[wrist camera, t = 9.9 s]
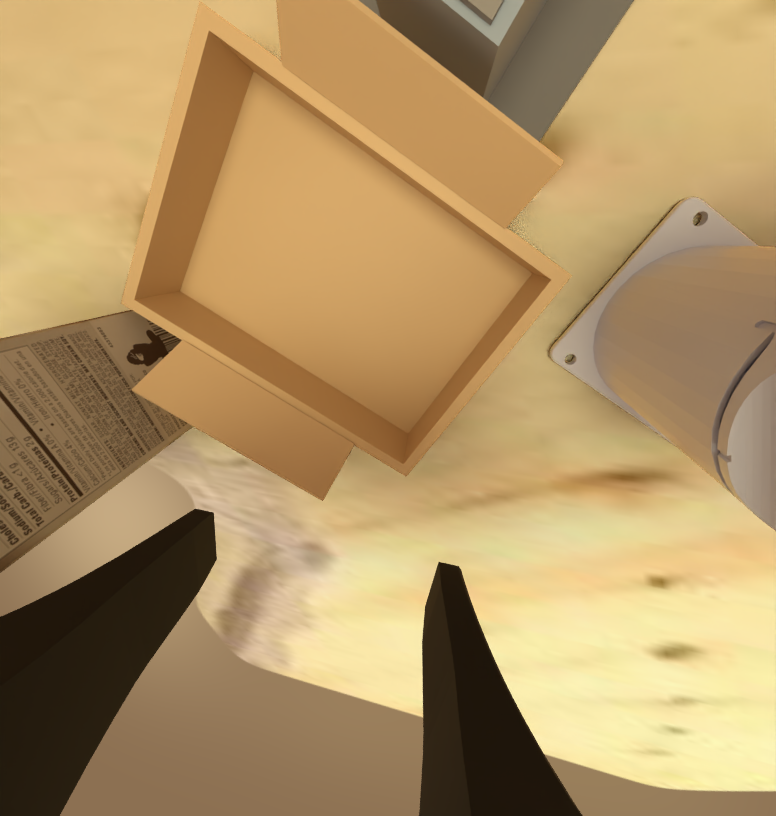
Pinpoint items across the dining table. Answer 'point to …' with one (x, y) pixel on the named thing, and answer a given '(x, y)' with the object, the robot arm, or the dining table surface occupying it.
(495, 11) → the block
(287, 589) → the dining table surface
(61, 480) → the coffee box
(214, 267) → the carton
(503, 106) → the mat
